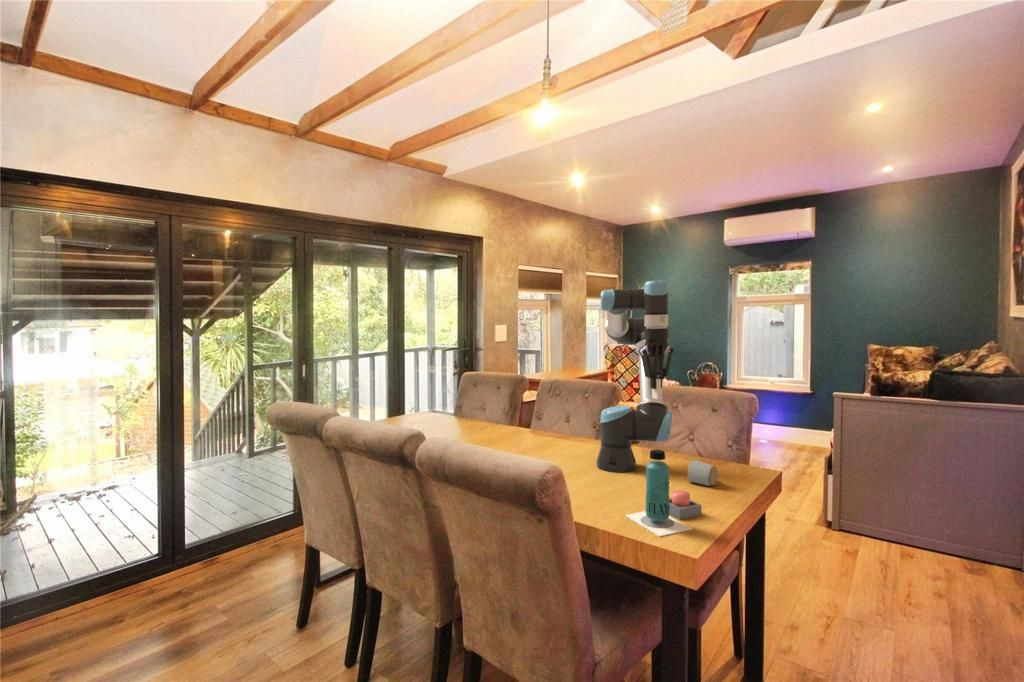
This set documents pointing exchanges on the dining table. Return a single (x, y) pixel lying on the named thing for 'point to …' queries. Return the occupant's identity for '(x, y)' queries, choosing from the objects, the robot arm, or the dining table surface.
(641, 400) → the robot arm
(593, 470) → the dining table surface
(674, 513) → the button base
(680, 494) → the button
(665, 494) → the beverage bottle
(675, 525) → the paper card
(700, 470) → the ceramic mug
